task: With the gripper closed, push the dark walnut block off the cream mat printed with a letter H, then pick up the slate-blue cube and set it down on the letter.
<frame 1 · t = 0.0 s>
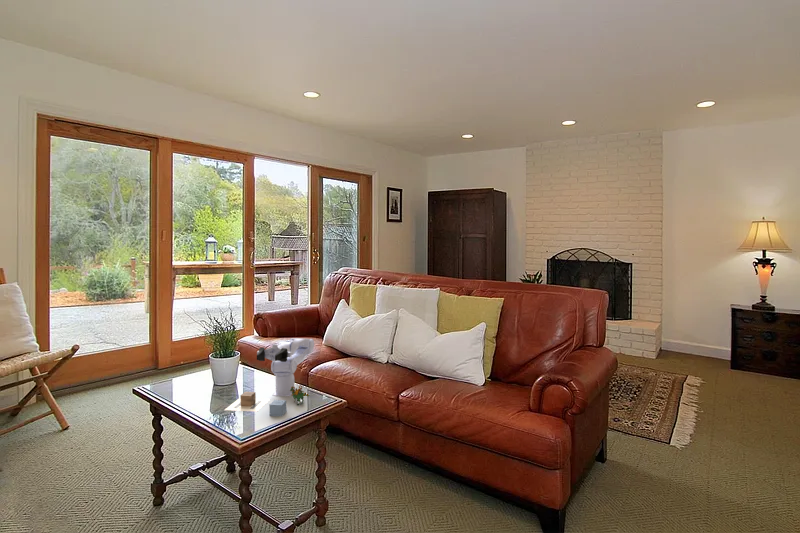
hand: (266, 357, 180), 22 cm above the table, tool horizontal, fingers open, 7 cm apart
letter mat: (248, 405, 186), on the table
walnut block: (248, 404, 186), resting on letter mat
blue cube: (278, 414, 177), on the table
figurine: (300, 404, 188), on the table
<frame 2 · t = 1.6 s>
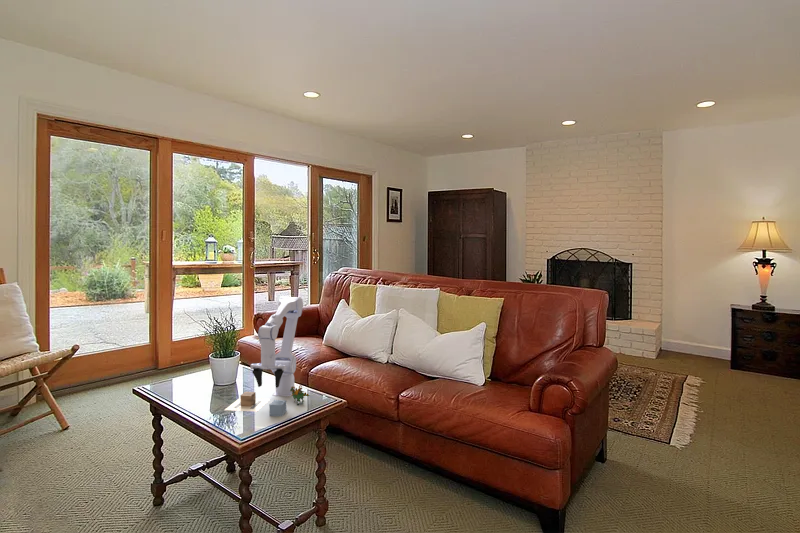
hand: (268, 386, 185), 8 cm above the table, tool pointing down, fingers open, 7 cm apart
nothing on the table moved.
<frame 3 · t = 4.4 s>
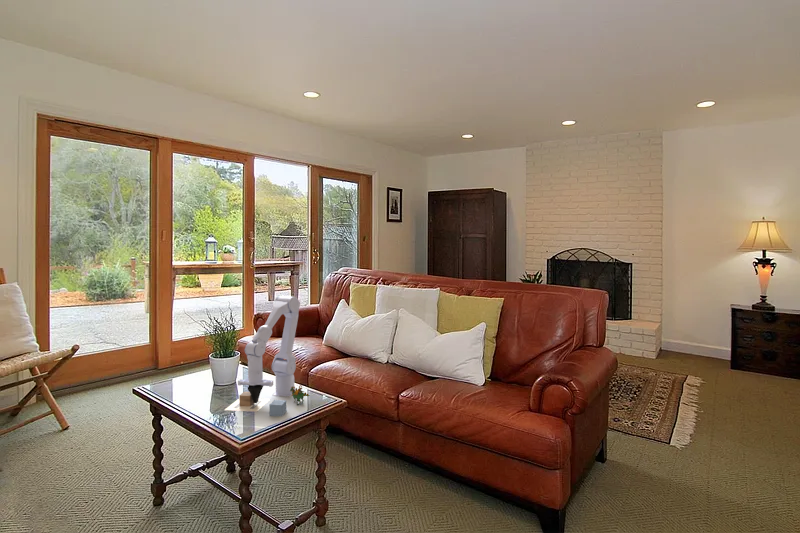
hand: (255, 402, 186), 1 cm above the table, tool pointing down, fingers closed
walnut block: (247, 404, 186), resting on letter mat, touching gripper
everything else where it was.
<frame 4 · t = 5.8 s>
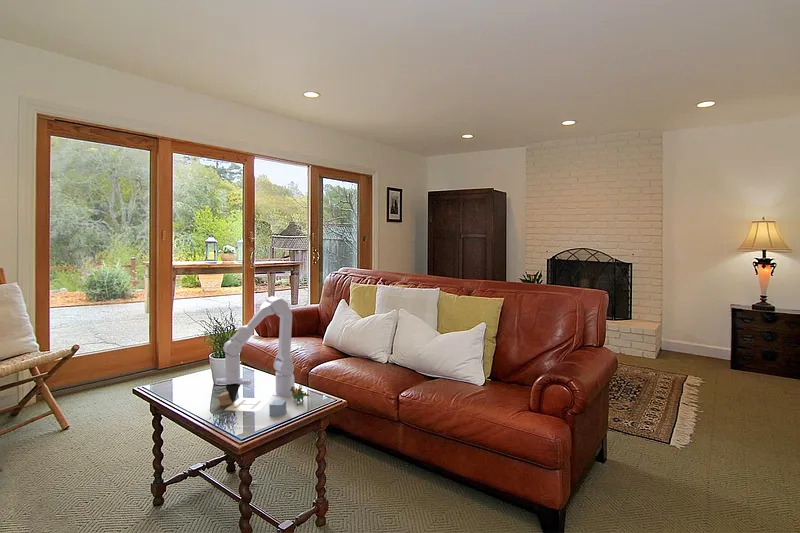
hand: (233, 401, 186), 2 cm above the table, tool pointing down, fingers closed, pressing on walnut block
walnut block: (228, 403, 187), on the table, tilted 16°, touching gripper
everything else where it was.
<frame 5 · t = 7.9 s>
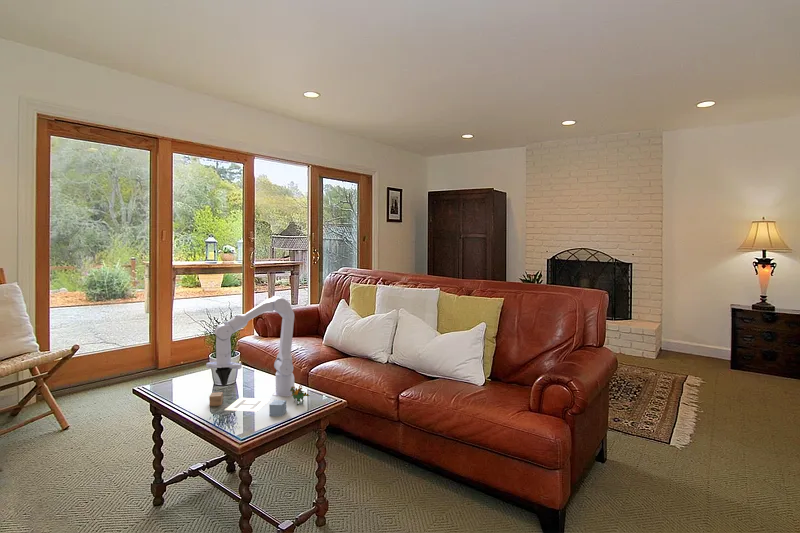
hand: (224, 385, 186), 8 cm above the table, tool pointing down, fingers closed
walnut block: (216, 404, 187), on the table
everything else where it was.
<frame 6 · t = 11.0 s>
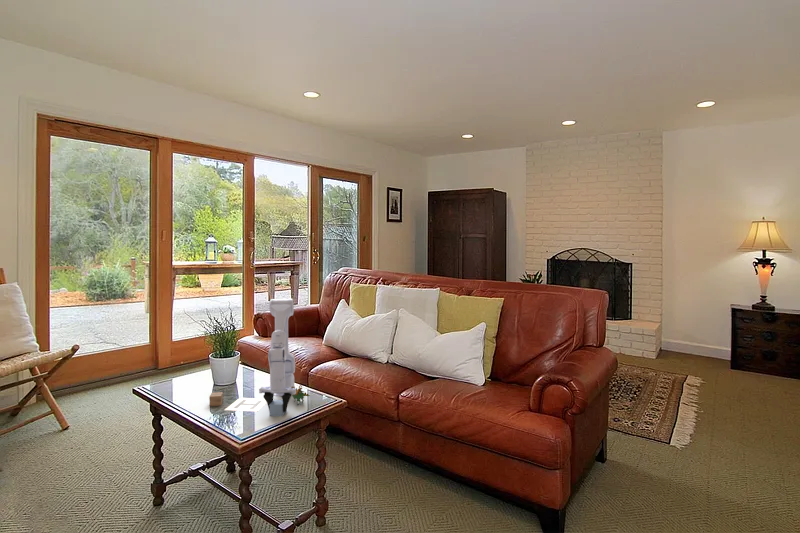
hand: (278, 411, 176), 1 cm above the table, tool pointing down, fingers closed on blue cube, 5 cm apart
blue cube: (278, 414, 176), on the table, touching gripper
everything else where it was.
when the fingers open (3 cm above the table, at t = 15.1 s): blue cube drops 1 cm, resting on letter mat.
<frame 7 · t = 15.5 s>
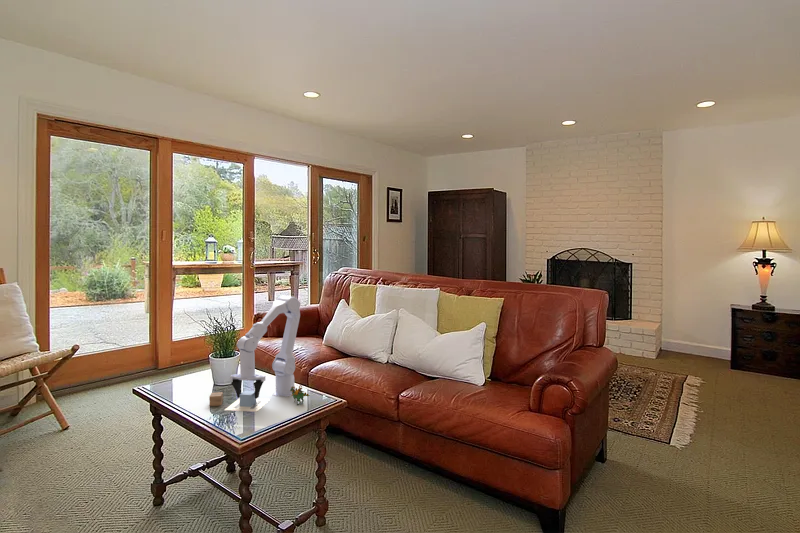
hand: (248, 397, 186), 3 cm above the table, tool pointing down, fingers open, 7 cm apart
blue cube: (248, 404, 186), resting on letter mat
everything else where it was.
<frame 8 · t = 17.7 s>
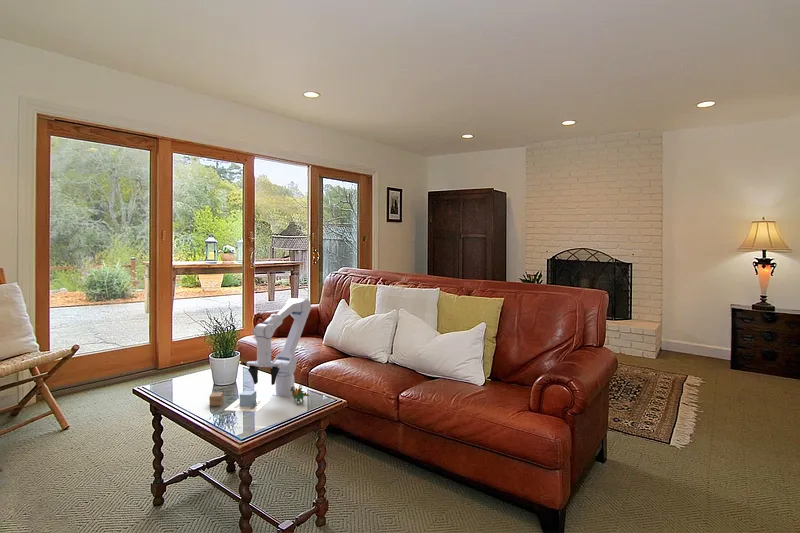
hand: (264, 383, 188), 8 cm above the table, tool pointing down, fingers open, 7 cm apart
nothing on the table moved.
at the end: blue cube inside the target area on the letter mat (0.1 cm from its centre), point 0.4 cm above the letter mat's base; walnut block touching table; blue cube tilted 0° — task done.
